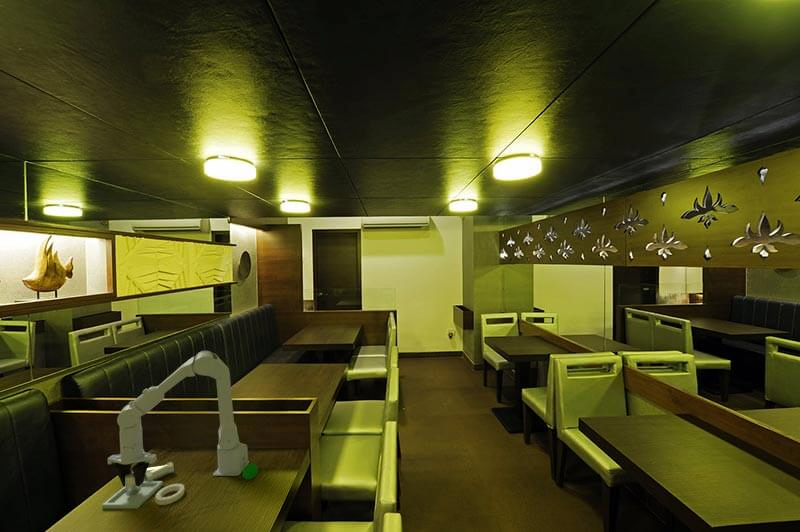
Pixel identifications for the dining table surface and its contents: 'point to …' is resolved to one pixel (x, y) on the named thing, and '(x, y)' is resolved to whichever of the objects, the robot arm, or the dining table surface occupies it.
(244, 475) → the polyhedron
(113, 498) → the tray
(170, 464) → the pipe fitting
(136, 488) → the metal cylinder
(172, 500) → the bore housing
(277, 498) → the dining table surface
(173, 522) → the dining table surface
